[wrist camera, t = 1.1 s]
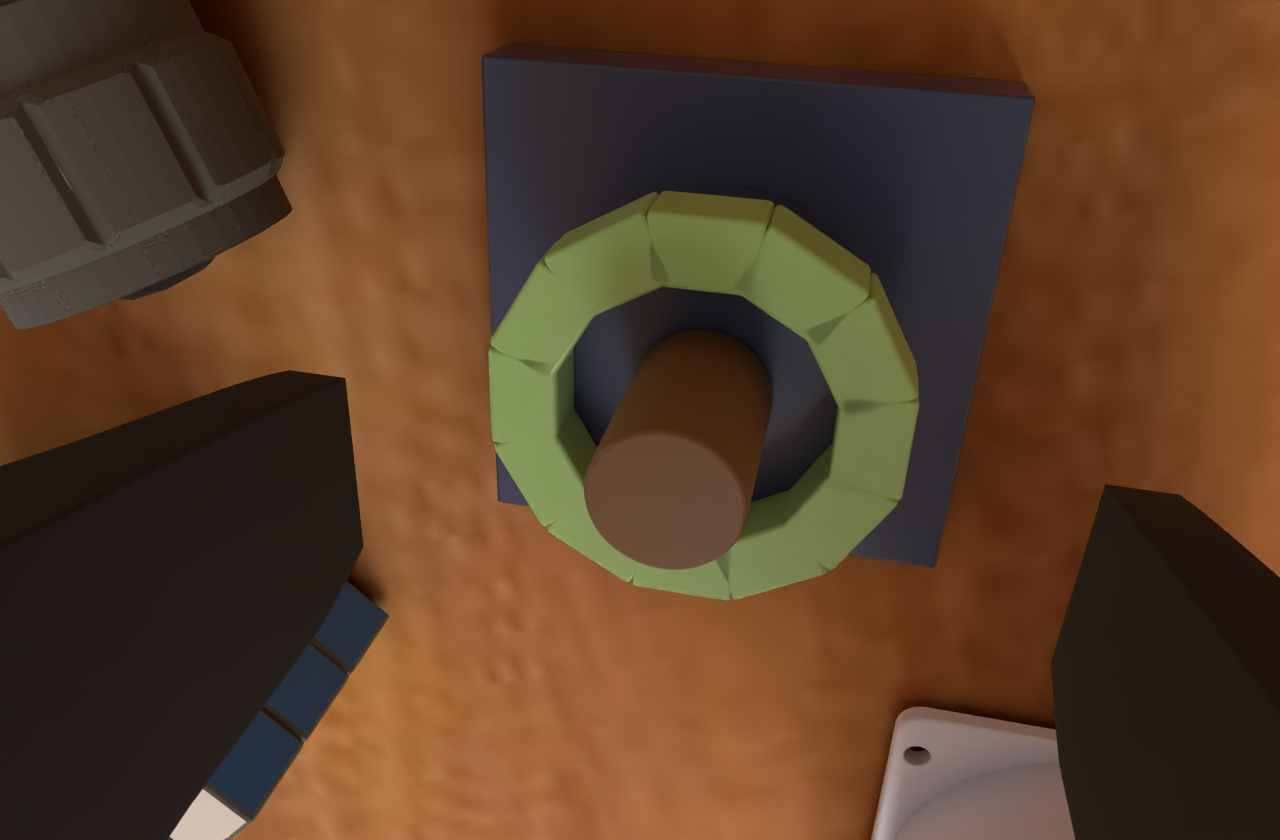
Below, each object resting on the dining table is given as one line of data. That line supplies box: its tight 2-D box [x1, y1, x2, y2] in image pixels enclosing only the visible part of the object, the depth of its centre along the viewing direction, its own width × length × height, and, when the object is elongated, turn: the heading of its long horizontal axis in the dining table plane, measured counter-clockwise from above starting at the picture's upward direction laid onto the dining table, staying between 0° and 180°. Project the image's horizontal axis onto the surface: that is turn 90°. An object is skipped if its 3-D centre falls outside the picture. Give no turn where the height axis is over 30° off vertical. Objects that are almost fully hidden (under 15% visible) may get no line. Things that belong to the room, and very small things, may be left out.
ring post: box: [482, 44, 1035, 570], centre depth 15 cm, size 8×8×6 cm
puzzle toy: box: [168, 580, 389, 840], centre depth 21 cm, size 6×6×6 cm
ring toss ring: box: [488, 191, 919, 601], centre depth 14 cm, size 6×6×1 cm
